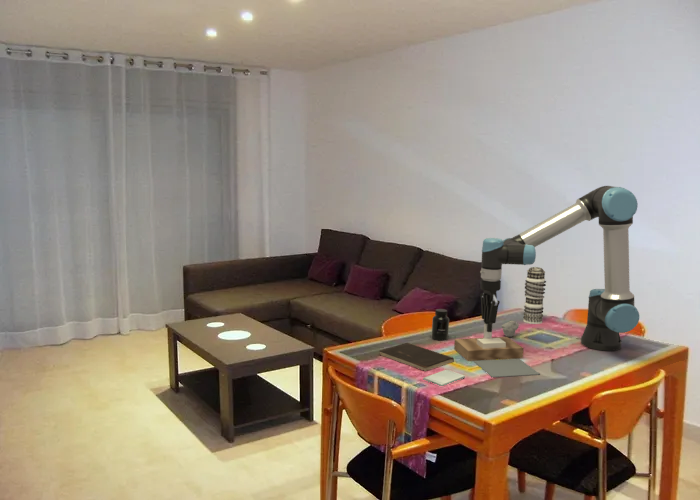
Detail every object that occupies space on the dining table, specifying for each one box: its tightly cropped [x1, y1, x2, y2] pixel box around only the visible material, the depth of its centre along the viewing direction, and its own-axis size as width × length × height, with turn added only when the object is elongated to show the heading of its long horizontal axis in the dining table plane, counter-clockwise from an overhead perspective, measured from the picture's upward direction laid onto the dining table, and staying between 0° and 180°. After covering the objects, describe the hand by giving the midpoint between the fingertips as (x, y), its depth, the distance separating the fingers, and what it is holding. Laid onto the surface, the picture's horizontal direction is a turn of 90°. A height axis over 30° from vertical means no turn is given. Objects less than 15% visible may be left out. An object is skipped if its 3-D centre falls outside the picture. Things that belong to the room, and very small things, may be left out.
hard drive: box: [422, 369, 466, 387], centre depth 207 cm, size 2×8×12 cm
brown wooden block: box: [453, 336, 524, 362], centre depth 234 cm, size 22×14×4 cm, turn 101°
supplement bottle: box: [431, 308, 450, 341], centre depth 251 cm, size 7×7×12 cm
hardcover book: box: [379, 342, 455, 372], centre depth 228 cm, size 16×23×2 cm
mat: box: [473, 358, 541, 378], centre depth 219 cm, size 18×16×1 cm
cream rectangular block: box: [477, 338, 506, 349], centre depth 231 cm, size 9×6×2 cm, turn 101°
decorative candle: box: [522, 266, 547, 325], centre depth 277 cm, size 9×9×25 cm
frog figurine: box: [501, 320, 520, 338], centre depth 255 cm, size 6×7×7 cm
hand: (487, 339), depth 234 cm, fingers closed
